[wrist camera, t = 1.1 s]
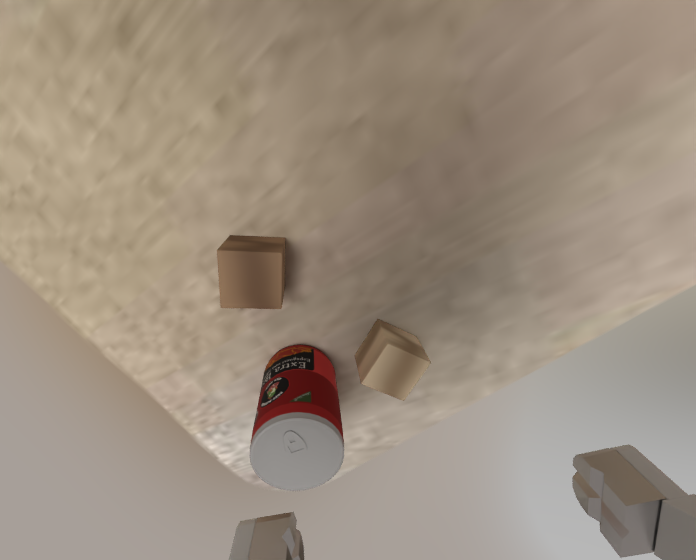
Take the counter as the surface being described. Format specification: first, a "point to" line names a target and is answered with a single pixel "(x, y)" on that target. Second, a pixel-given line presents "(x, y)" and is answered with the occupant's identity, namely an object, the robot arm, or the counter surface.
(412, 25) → the counter surface
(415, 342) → the oak block
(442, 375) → the counter surface
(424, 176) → the counter surface
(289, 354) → the canned food
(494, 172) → the counter surface
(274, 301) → the walnut block
